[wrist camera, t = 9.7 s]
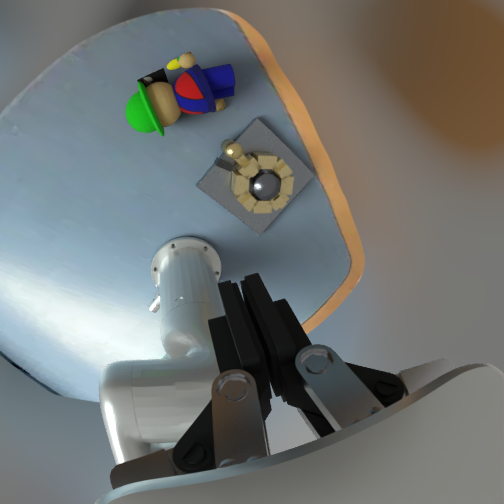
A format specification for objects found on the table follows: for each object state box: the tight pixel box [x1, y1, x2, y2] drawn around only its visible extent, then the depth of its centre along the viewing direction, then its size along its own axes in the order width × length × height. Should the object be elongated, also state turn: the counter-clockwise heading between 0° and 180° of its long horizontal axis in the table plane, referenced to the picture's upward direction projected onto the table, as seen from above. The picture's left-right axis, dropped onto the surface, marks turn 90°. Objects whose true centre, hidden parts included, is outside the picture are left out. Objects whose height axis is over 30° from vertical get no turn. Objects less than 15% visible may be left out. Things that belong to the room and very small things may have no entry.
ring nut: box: [221, 139, 294, 213], centre depth 41 cm, size 13×9×5 cm
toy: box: [126, 52, 235, 136], centre depth 32 cm, size 12×9×15 cm
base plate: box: [196, 118, 314, 234], centre depth 43 cm, size 14×15×6 cm
